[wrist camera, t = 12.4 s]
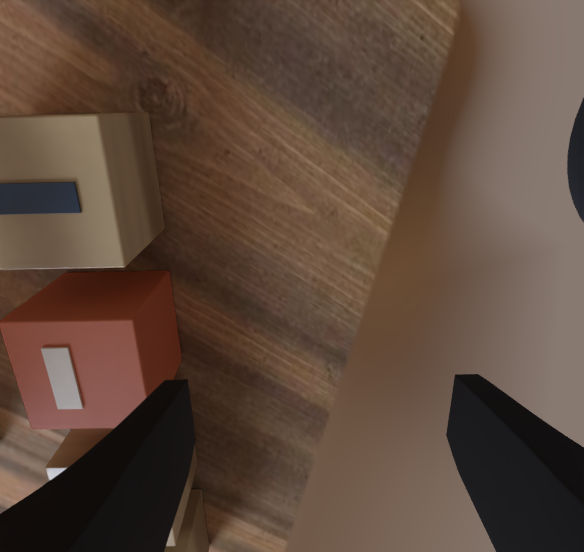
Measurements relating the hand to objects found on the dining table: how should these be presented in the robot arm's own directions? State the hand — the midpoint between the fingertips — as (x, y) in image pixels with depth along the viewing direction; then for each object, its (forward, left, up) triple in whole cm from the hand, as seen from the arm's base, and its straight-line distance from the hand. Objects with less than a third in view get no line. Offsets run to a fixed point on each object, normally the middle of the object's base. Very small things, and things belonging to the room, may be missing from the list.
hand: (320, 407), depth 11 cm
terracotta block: (+9, +2, -9) cm, 13 cm away
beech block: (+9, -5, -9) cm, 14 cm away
